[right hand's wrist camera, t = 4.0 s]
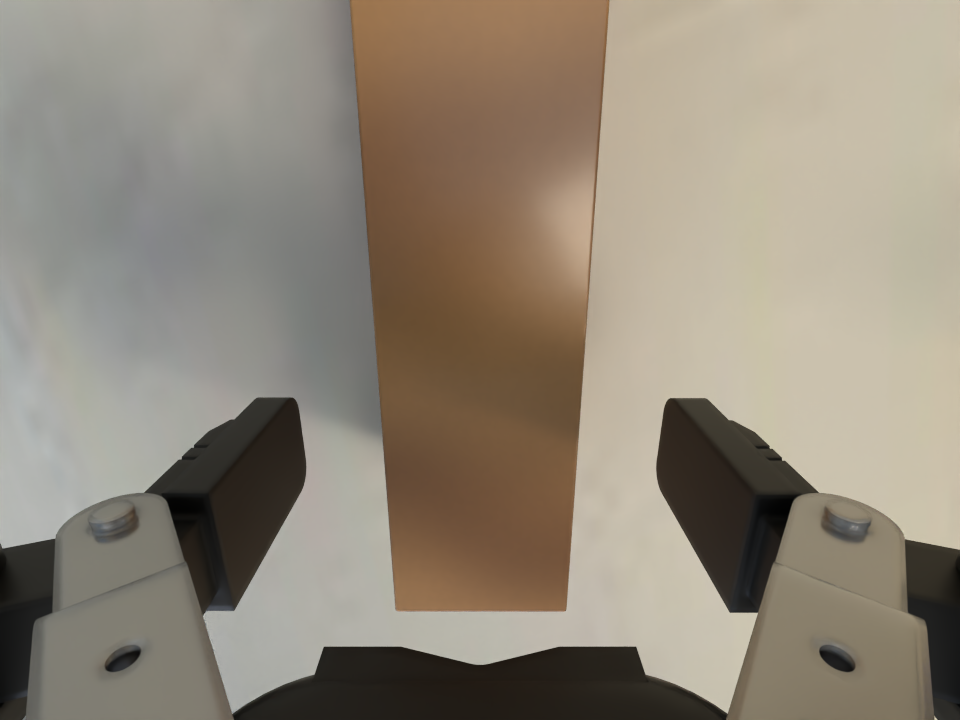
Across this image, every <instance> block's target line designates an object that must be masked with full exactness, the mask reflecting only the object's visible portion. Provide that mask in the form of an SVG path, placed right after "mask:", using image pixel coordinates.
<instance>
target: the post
mask: <svg viewBox="0 0 960 720" xmlns="http://www.w3.org/2000/svg"><path fill="white" fill-rule="evenodd" d="M350 12H351V26H352V39H353V52H354V65H355V79H356V92H357V105H358V118H359V132H360V145H361V158H362V171H363V185H364V198H365V211H366V224H367V238H368V251H369V264H370V277H371V291H372V304H373V317H374V330H375V344H376V357H377V370H378V383H379V397H380V410H381V423H382V436H383V450H384V463H385V476H386V489H387V503H388V516H389V529H390V542H391V556H392V569H393V582H394V595H395V609H396V611H566V607H567V593H568V579H569V565H570V551H571V537H572V523H573V508H574V494H575V480H576V466H577V452H578V438H579V424H580V409H581V395H582V381H583V367H584V353H585V339H586V325H587V310H588V296H589V282H590V268H591V254H592V240H593V226H594V212H595V197H596V183H597V169H598V155H599V141H600V127H601V113H602V98H603V84H604V70H605V56H606V42H607V28H608V14H609V0H350Z"/></svg>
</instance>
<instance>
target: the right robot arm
mask: <svg viewBox="0 0 960 720" xmlns="http://www.w3.org/2000/svg"><path fill="white" fill-rule="evenodd" d="M656 471H657V480H658V484H659V488H660V490H661V492H662V494H663V496H664V498H665V499H666V501H667V503H668V505H669V506H670V508H671V510H672V512H673V513H674V515H675V517H676V519H677V520H678V522H679V524H680V526H681V528H682V529H683V531H684V533H685V535H686V536H687V538H688V540H689V542H690V543H691V545H692V547H693V549H694V550H695V552H696V554H697V556H698V557H699V559H700V561H701V563H702V564H703V566H704V568H705V570H706V571H707V573H708V575H709V577H710V578H711V580H712V582H713V584H714V585H715V587H716V589H717V591H718V593H719V594H720V596H721V598H722V600H723V601H724V603H725V605H726V607H727V608H728V610H729V612H730V613H758V615H757V619H756V622H755V625H754V629H753V632H752V635H751V639H750V642H749V645H748V649H747V652H746V655H745V659H744V662H743V665H742V669H741V672H740V675H739V679H738V682H737V685H736V689H735V692H734V695H733V699H732V702H731V705H730V709H729V712H728V714H727V713H725V712H724V711H723V710H721V709H720V708H718V707H717V706H715V705H714V704H712V703H710V702H709V701H707V700H705V699H704V698H702V697H700V696H698V695H697V694H695V693H693V692H691V691H688V690H686V689H684V688H682V687H680V686H678V685H675V684H673V683H670V682H667V681H664V680H661V679H659V678H656V677H652V676H648V675H645V672H644V669H643V666H642V663H641V660H640V657H639V654H638V651H637V648H636V647H556V648H552V649H548V650H544V651H540V652H536V653H532V654H528V655H524V656H520V657H516V658H511V659H507V660H503V661H499V662H495V663H491V664H486V665H474V664H469V663H465V662H461V661H457V660H453V659H449V658H444V657H440V656H436V655H432V654H428V653H424V652H420V651H416V650H412V649H408V648H404V647H324V648H323V651H322V654H321V657H320V660H319V663H318V666H317V669H316V672H315V675H312V676H308V677H304V678H301V679H299V680H296V681H293V682H290V683H287V684H285V685H282V686H280V687H278V688H276V689H274V690H272V691H269V692H267V693H265V694H263V695H262V696H260V697H258V698H256V699H255V700H253V701H251V702H250V703H248V704H246V705H245V706H243V707H242V708H240V709H239V710H237V711H236V712H235V713H233V714H232V712H231V709H230V705H229V702H228V699H227V695H226V692H225V689H224V685H223V682H222V679H221V675H220V672H219V669H218V665H217V662H216V659H215V655H214V652H213V649H212V645H211V642H210V639H209V635H208V632H207V629H206V625H205V622H204V619H203V615H204V613H205V611H234V610H235V608H236V607H237V605H238V603H239V601H240V599H241V598H242V596H243V594H244V592H245V591H246V589H247V587H248V585H249V583H250V582H251V580H252V578H253V576H254V575H255V573H256V571H257V569H258V567H259V566H260V564H261V562H262V560H263V559H264V557H265V555H266V553H267V551H268V550H269V548H270V546H271V544H272V543H273V541H274V539H275V537H276V535H277V534H278V532H279V530H280V528H281V527H282V525H283V523H284V521H285V519H286V518H287V516H288V514H289V512H290V511H291V509H292V507H293V505H294V503H295V502H296V500H297V498H298V496H299V494H300V493H301V491H302V489H303V486H304V482H305V477H306V458H305V450H304V443H303V436H302V428H301V421H300V414H299V408H298V404H297V402H296V400H295V399H294V398H256V399H255V400H254V401H253V402H252V403H251V404H250V405H249V406H248V407H247V408H246V409H245V410H244V411H243V412H242V413H241V414H240V415H239V416H238V417H237V418H236V419H235V420H229V421H227V422H225V423H224V424H222V425H220V426H218V427H216V428H214V429H212V430H210V431H209V432H207V433H206V434H205V435H204V436H203V437H202V438H201V439H200V440H199V441H198V442H197V443H196V444H195V445H194V448H191V449H190V450H189V451H187V452H186V453H185V454H184V455H183V456H182V460H178V461H177V462H176V463H175V464H174V465H173V466H172V467H171V468H170V469H169V470H167V471H166V472H165V473H164V474H163V475H162V476H161V477H160V478H159V479H158V480H157V481H156V482H155V483H154V484H153V485H152V486H151V487H150V488H149V489H147V490H146V491H145V492H144V493H135V494H127V495H122V496H118V497H114V498H111V499H108V500H105V501H102V502H99V503H97V504H94V505H92V506H90V507H88V508H86V509H84V510H83V511H81V512H79V513H77V514H76V515H75V516H73V517H72V518H70V519H69V520H68V521H67V522H66V523H65V524H64V525H63V526H62V527H61V528H60V529H59V531H58V533H57V534H56V538H55V539H51V540H46V541H41V542H35V543H30V544H25V545H20V546H15V547H9V548H4V549H2V546H1V544H0V720H22V719H23V718H24V717H25V716H26V720H934V716H935V717H936V718H937V719H938V720H960V550H957V549H952V548H947V547H942V546H936V545H931V544H926V543H921V542H916V541H910V540H906V539H905V538H904V534H903V533H902V531H901V529H900V528H899V527H898V526H897V525H896V524H895V523H894V522H893V521H892V520H891V519H890V518H888V517H887V516H885V515H884V514H883V513H881V512H879V511H877V510H876V509H874V508H872V507H870V506H868V505H866V504H863V503H861V502H858V501H855V500H852V499H849V498H846V497H842V496H838V495H833V494H825V493H819V492H818V491H817V490H816V489H814V488H813V487H812V486H811V485H810V484H809V483H808V482H807V481H806V480H805V479H804V478H803V477H802V476H801V475H800V474H799V473H797V472H796V471H795V470H794V469H793V468H792V467H791V466H790V465H789V464H788V463H787V462H786V461H782V457H780V456H779V455H778V454H777V453H776V452H775V451H774V450H773V449H770V448H769V445H768V444H767V443H766V442H765V441H764V440H762V439H761V438H760V437H759V436H758V435H757V434H756V433H755V432H753V431H751V430H750V429H748V428H746V427H744V426H742V425H740V424H738V423H736V422H734V421H732V420H728V419H727V418H726V417H725V416H724V415H723V414H722V413H721V412H720V411H719V410H718V409H717V408H716V407H715V406H714V405H713V404H712V403H711V402H710V401H709V400H708V399H706V398H670V399H668V401H667V402H666V404H665V408H664V413H663V420H662V427H661V435H660V442H659V449H658V456H657V465H656Z"/></svg>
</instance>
